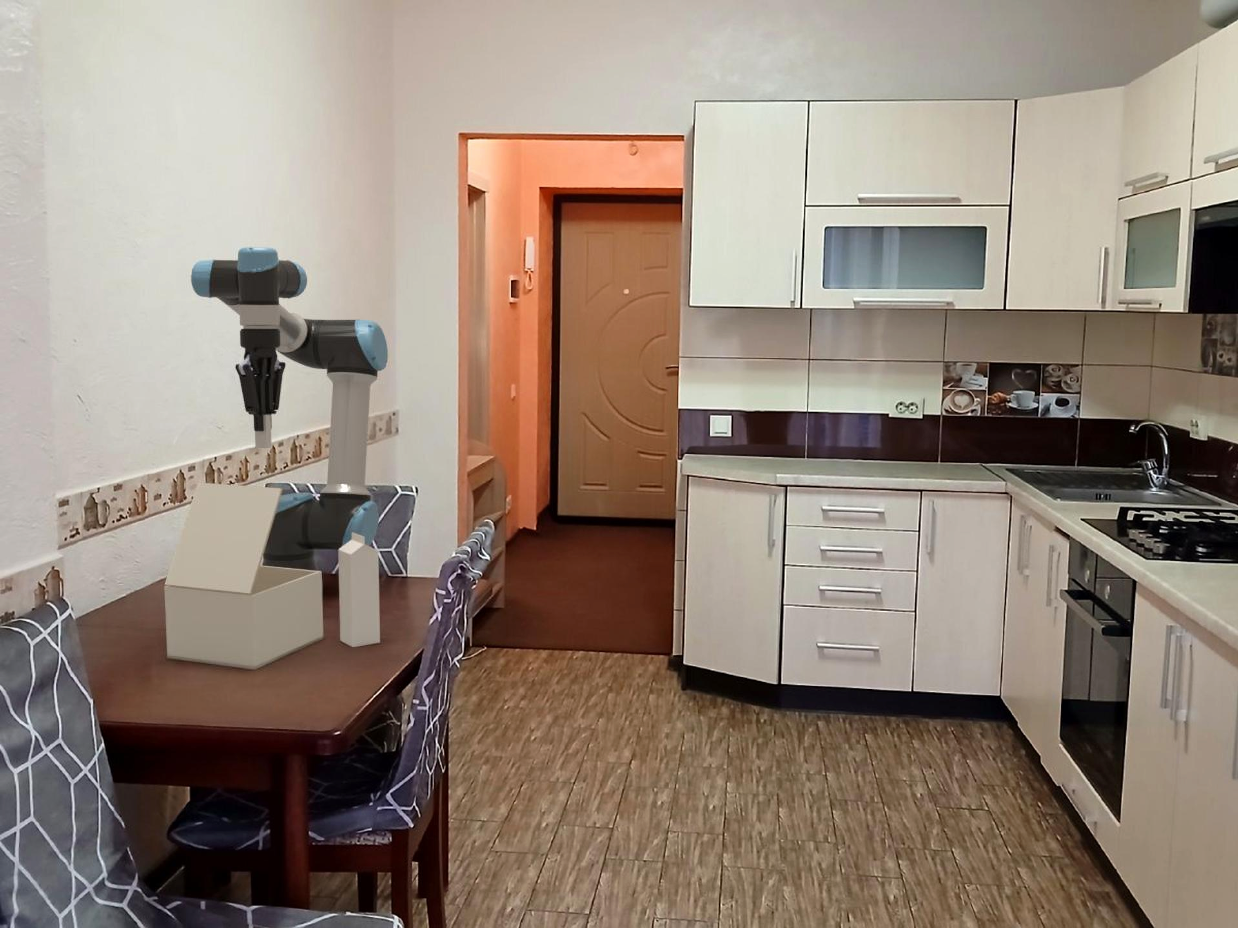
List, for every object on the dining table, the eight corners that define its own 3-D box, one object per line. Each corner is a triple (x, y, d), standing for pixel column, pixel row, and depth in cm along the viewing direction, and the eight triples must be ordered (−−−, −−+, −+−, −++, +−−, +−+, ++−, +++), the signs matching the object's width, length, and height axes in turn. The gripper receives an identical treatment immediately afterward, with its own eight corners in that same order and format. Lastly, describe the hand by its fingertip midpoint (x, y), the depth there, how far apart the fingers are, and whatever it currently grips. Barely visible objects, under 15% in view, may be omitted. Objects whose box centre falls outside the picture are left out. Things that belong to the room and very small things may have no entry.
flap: (199, 483, 228) (198, 482, 227) (282, 489, 221) (281, 488, 221) (166, 585, 221) (164, 584, 220) (251, 594, 214) (249, 593, 214)
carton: (241, 628, 243) (238, 563, 241) (323, 638, 236) (321, 571, 234) (167, 658, 222) (164, 586, 221) (255, 669, 216) (252, 595, 214)
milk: (352, 647, 230) (349, 538, 227) (339, 640, 235) (336, 533, 232) (380, 642, 234) (378, 535, 231) (367, 635, 239) (365, 530, 236)
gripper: (264, 327, 235) (267, 443, 238) (222, 327, 223) (226, 450, 226) (296, 327, 232) (299, 444, 236) (255, 328, 220) (258, 451, 223)
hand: (263, 447), depth 231 cm, fingers closed
